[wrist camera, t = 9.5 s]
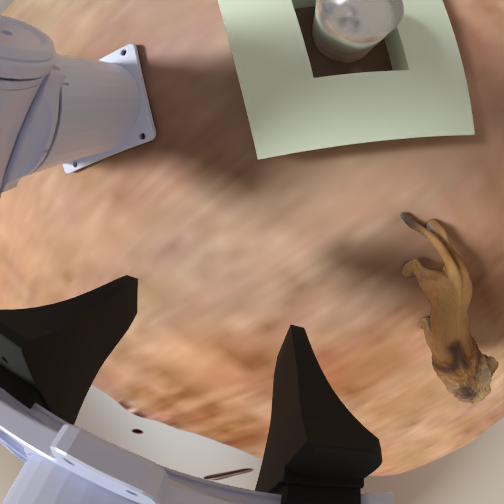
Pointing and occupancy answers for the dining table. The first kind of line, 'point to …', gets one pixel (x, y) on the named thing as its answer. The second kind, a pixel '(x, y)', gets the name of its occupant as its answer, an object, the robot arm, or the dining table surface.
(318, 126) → the socket block
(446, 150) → the dining table surface
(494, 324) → the dining table surface
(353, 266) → the dining table surface
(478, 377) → the lion figurine
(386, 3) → the peg
